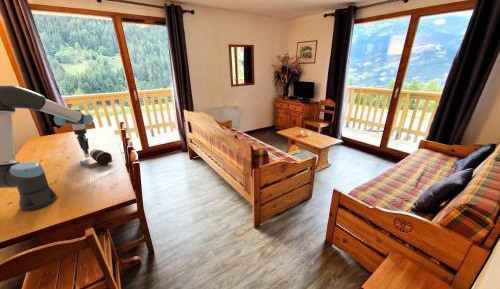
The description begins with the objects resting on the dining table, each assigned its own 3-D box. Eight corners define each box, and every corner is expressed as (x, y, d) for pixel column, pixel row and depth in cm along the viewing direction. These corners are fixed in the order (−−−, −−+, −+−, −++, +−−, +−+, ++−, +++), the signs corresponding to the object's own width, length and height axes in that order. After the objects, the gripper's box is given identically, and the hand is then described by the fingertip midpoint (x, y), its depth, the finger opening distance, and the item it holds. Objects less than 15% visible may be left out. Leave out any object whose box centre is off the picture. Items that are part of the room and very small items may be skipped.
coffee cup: (90, 161, 160) (102, 168, 154) (85, 151, 154) (96, 158, 148) (103, 155, 167) (115, 161, 161) (98, 144, 161) (110, 151, 155)
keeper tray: (90, 167, 153) (89, 164, 152) (80, 164, 159) (79, 161, 159) (112, 160, 165) (111, 157, 165) (102, 157, 172) (101, 154, 171)
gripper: (89, 128, 161) (96, 157, 169) (81, 126, 167) (88, 154, 175) (78, 131, 155) (86, 160, 162) (69, 128, 161) (78, 157, 168)
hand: (87, 157), depth 169 cm, fingers closed
